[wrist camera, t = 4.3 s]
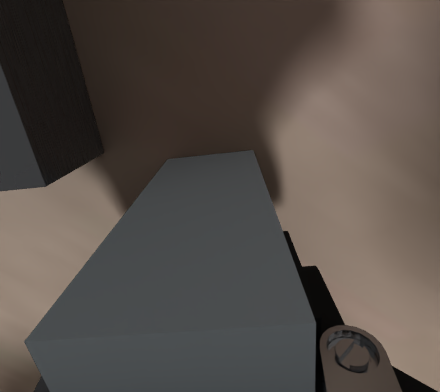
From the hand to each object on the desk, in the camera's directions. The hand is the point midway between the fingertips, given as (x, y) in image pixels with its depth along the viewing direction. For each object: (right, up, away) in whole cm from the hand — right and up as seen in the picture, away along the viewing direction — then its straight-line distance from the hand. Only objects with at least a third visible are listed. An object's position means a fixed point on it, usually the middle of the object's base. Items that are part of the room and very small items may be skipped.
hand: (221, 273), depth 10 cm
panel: (0, +1, +2) cm, 2 cm away
